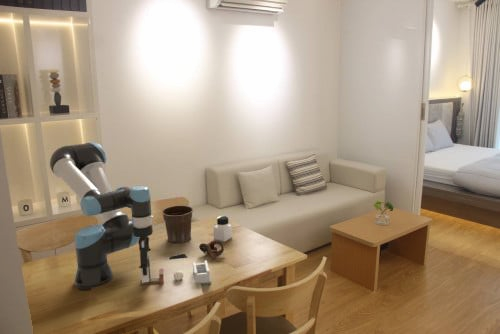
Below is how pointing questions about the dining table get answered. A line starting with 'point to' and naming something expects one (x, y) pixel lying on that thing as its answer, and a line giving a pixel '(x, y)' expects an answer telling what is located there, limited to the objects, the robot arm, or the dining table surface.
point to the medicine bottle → (222, 229)
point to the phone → (178, 256)
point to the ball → (178, 275)
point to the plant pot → (178, 223)
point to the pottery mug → (212, 249)
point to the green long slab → (201, 273)
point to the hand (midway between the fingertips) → (146, 274)
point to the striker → (154, 280)
